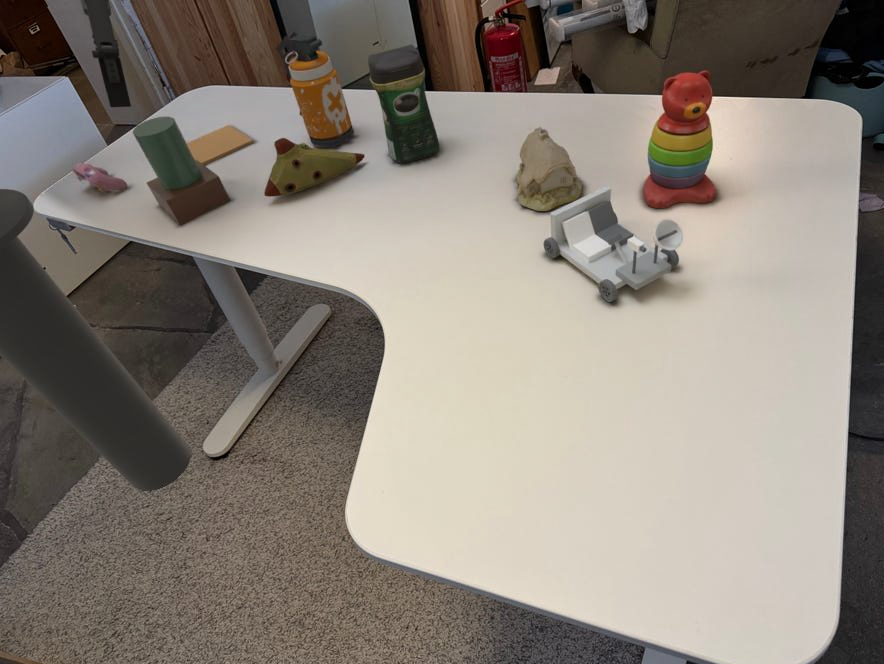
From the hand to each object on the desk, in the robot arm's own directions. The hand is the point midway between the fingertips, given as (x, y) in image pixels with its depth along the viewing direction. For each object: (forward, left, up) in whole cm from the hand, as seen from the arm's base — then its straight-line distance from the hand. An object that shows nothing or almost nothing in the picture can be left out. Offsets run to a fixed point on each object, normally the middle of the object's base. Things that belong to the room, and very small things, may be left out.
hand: (118, 99), depth 95 cm
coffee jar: (+18, +40, -21) cm, 49 cm away
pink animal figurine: (-24, -7, -21) cm, 33 cm away
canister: (-2, +33, -21) cm, 40 cm away
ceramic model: (+47, +46, -21) cm, 69 cm away
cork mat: (-21, +16, -21) cm, 34 cm away
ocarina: (+12, +22, -21) cm, 33 cm away
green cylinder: (-2, +3, -16) cm, 17 cm away
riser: (-2, +3, -21) cm, 22 cm away
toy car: (+69, +37, -21) cm, 81 cm away
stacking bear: (+64, +58, -21) cm, 89 cm away
